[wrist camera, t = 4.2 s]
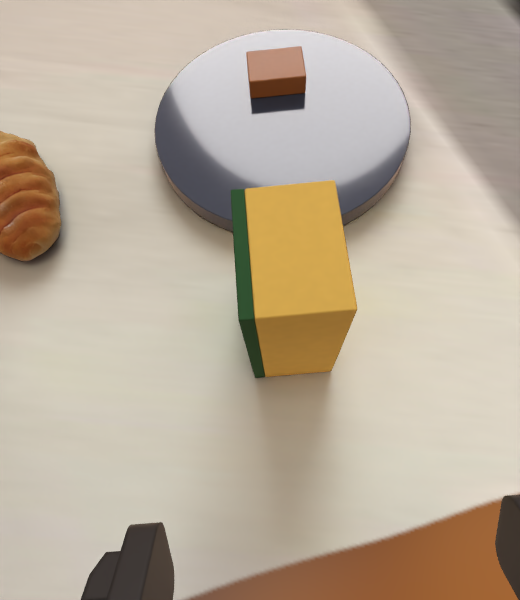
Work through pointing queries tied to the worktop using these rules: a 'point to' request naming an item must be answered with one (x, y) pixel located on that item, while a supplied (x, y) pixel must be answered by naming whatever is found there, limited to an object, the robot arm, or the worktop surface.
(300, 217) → the sponge
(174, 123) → the plate
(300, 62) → the orange slab
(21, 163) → the pastry
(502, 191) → the worktop surface
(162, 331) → the worktop surface
